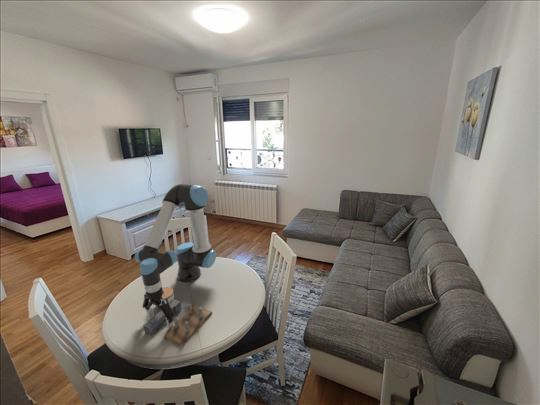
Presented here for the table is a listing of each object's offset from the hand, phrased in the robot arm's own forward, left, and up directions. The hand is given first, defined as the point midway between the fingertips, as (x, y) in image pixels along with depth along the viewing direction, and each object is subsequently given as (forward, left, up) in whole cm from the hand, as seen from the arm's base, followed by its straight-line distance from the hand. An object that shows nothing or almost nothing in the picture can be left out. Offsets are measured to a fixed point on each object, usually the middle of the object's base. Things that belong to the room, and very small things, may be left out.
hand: (160, 322), depth 125 cm
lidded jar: (-11, -9, 0) cm, 14 cm away
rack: (-5, +15, 0) cm, 16 cm away
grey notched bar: (-2, 0, 0) cm, 2 cm away
